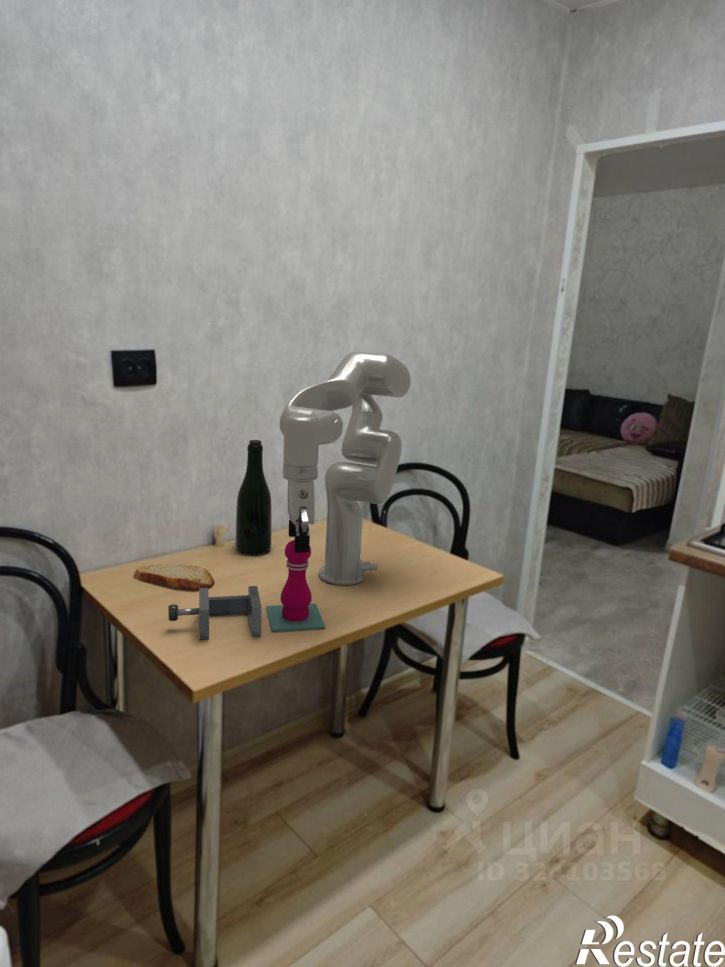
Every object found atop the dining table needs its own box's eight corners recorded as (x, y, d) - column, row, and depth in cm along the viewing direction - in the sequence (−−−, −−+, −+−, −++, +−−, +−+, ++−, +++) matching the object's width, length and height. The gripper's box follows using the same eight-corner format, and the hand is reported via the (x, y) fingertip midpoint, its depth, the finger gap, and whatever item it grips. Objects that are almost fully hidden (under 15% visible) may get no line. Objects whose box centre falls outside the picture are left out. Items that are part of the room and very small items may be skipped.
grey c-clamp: (256, 610, 152) (256, 583, 150) (260, 636, 140) (261, 606, 138) (170, 615, 147) (169, 586, 145) (167, 641, 135) (167, 611, 134)
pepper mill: (281, 623, 145) (284, 539, 140) (278, 609, 152) (281, 528, 147) (312, 621, 147) (316, 539, 142) (308, 608, 154) (312, 528, 149)
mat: (315, 605, 156) (316, 603, 156) (325, 628, 145) (325, 626, 145) (266, 608, 153) (266, 605, 153) (271, 632, 142) (271, 629, 142)
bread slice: (130, 574, 169) (130, 561, 168) (198, 564, 178) (198, 551, 177) (145, 601, 154) (145, 587, 153) (218, 589, 163) (219, 575, 162)
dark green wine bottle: (245, 558, 183) (246, 445, 175) (229, 547, 191) (230, 438, 183) (277, 552, 189) (280, 442, 181) (261, 541, 197) (263, 435, 189)
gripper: (324, 481, 133) (321, 558, 138) (311, 461, 150) (308, 530, 154) (288, 482, 132) (286, 559, 136) (278, 461, 148) (277, 531, 152)
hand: (298, 544), depth 145 cm, fingers open, 9 cm apart
